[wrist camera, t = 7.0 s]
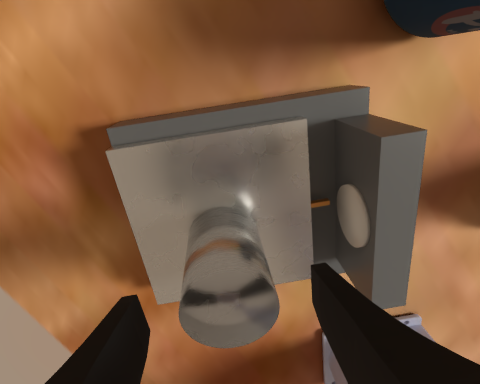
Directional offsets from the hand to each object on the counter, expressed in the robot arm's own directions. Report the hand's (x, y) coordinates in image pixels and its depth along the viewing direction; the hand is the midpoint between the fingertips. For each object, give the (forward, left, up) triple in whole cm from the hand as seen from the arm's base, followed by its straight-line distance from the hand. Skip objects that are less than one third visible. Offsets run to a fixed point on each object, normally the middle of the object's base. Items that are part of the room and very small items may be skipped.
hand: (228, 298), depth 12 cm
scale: (-2, 0, -10) cm, 10 cm away
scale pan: (-1, 0, -7) cm, 7 cm away
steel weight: (0, +1, -6) cm, 6 cm away
